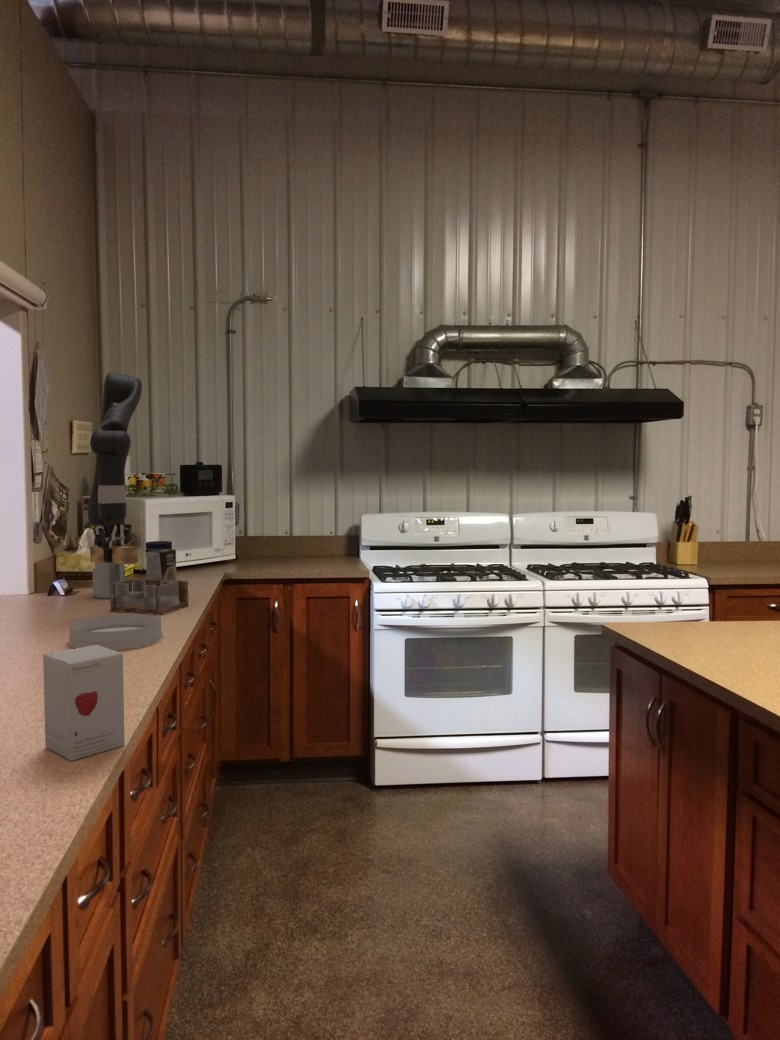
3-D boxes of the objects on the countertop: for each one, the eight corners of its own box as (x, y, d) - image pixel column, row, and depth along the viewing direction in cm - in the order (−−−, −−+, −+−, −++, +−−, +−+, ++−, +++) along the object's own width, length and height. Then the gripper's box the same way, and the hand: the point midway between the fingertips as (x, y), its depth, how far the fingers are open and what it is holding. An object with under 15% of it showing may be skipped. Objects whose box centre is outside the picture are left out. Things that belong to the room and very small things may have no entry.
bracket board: (110, 611, 225) (109, 583, 224) (139, 603, 238) (139, 576, 238) (161, 614, 219) (160, 586, 219) (188, 606, 233) (187, 579, 232)
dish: (92, 631, 199) (91, 613, 198) (174, 632, 198) (173, 613, 198) (52, 652, 177) (51, 631, 176) (144, 653, 176) (143, 632, 176)
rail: (90, 562, 213) (90, 546, 212) (100, 560, 216) (99, 544, 216) (128, 564, 208) (128, 548, 208) (137, 562, 212) (137, 546, 212)
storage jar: (140, 582, 280) (139, 543, 279) (157, 578, 289) (156, 540, 288) (161, 584, 276) (160, 544, 275) (178, 580, 285) (177, 541, 284)
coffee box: (164, 601, 241) (163, 552, 240) (146, 600, 242) (144, 551, 241) (177, 596, 250) (176, 549, 249) (160, 596, 251) (159, 548, 250)
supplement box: (70, 762, 110) (66, 663, 109) (44, 747, 116) (40, 653, 115) (127, 745, 117) (124, 652, 116) (99, 732, 123) (96, 643, 122)
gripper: (117, 499, 219) (119, 557, 220) (83, 502, 205) (85, 563, 207) (139, 500, 217) (140, 558, 218) (106, 502, 203) (107, 565, 204)
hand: (113, 560), depth 212 cm, fingers closed on rail, 4 cm apart
